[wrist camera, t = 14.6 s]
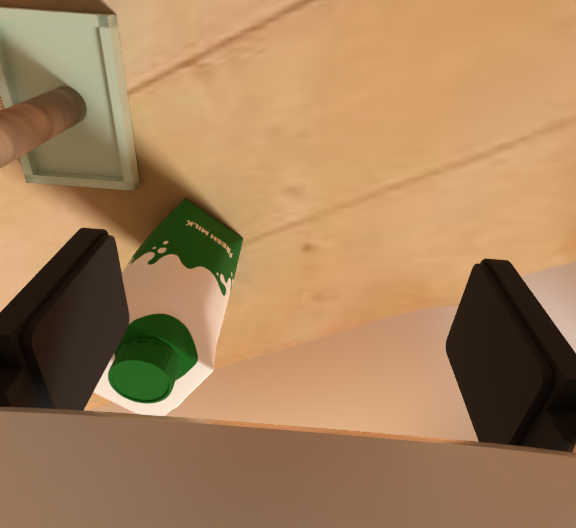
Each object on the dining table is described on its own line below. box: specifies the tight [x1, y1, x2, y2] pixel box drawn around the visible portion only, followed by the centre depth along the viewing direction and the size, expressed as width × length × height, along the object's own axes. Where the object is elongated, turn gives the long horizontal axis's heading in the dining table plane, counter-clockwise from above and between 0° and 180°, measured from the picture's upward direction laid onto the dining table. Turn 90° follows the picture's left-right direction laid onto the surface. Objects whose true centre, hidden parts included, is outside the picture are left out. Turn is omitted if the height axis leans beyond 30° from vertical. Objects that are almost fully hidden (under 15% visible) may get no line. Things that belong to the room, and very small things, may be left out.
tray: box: [0, 6, 140, 191], centre depth 36 cm, size 14×10×2 cm
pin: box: [0, 86, 87, 168], centre depth 31 cm, size 3×3×12 cm
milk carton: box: [94, 198, 243, 416], centre depth 35 cm, size 9×9×20 cm
